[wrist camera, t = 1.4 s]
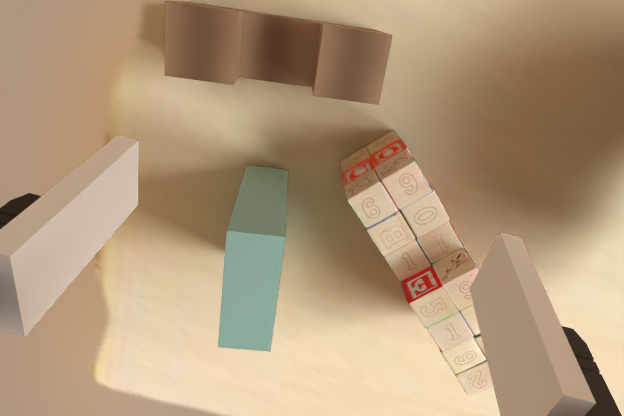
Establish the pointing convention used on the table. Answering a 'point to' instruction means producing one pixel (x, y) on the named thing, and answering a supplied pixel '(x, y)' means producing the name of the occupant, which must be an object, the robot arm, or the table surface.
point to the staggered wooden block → (274, 51)
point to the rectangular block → (254, 260)
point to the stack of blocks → (419, 251)
